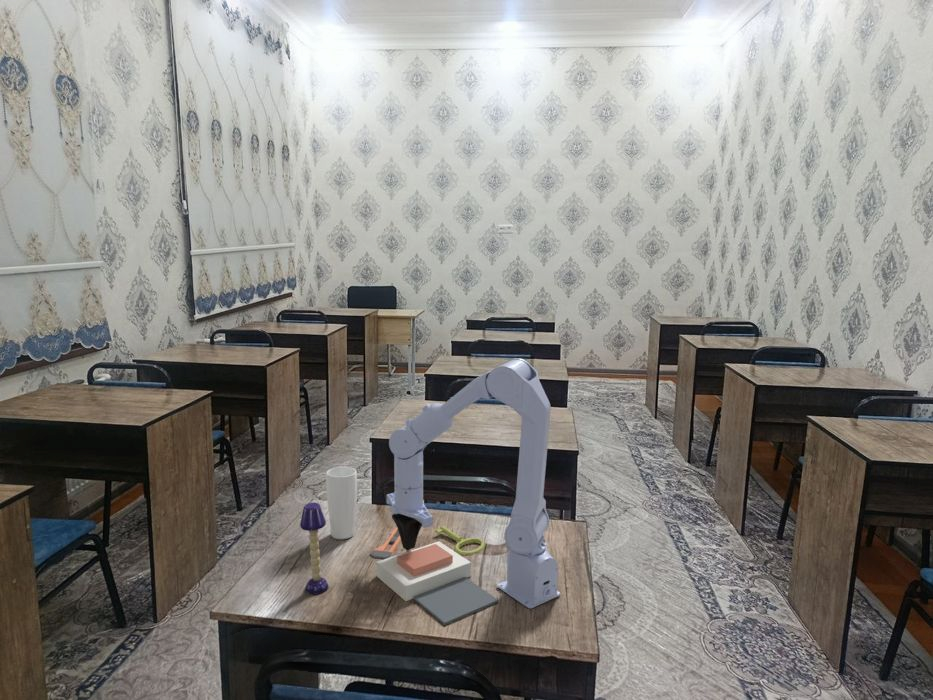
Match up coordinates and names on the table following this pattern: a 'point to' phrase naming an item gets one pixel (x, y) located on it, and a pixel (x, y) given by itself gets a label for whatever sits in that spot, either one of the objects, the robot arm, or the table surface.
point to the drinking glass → (341, 501)
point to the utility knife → (380, 551)
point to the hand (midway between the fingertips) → (409, 547)
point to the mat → (455, 600)
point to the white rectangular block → (424, 582)
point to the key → (462, 541)
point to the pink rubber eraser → (424, 560)
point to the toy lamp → (314, 545)
